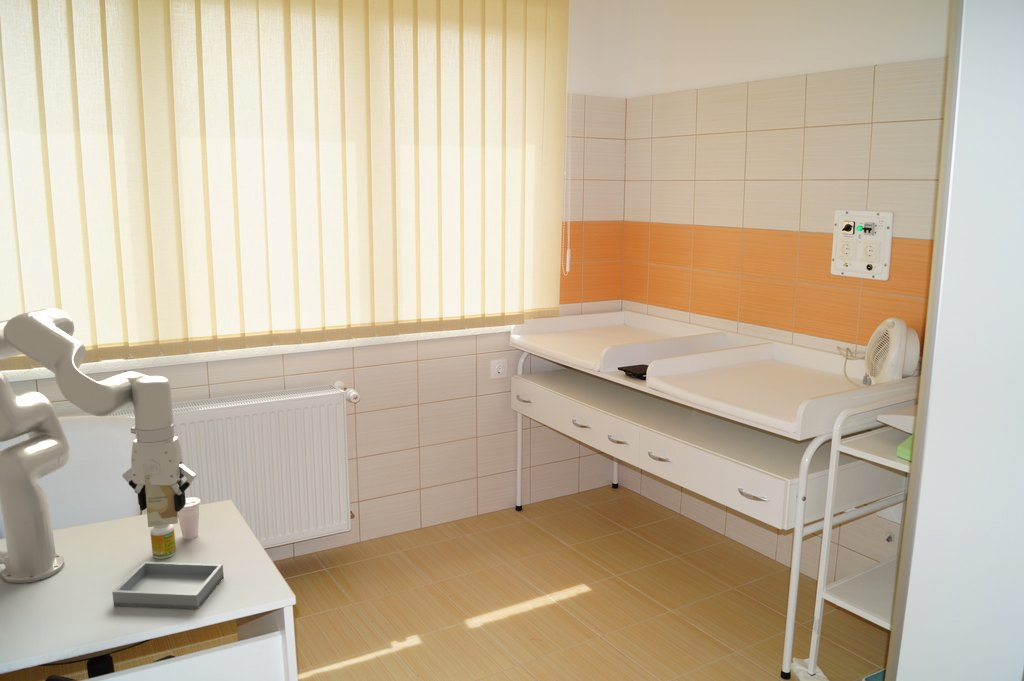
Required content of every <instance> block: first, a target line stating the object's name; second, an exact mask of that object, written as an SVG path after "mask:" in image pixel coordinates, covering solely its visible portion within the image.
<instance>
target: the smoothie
mask: <svg viewBox="0 0 1024 681" xmlns="http://www.w3.org/2000/svg"><path fill="white" fill-rule="evenodd" d="M185 501H186V504H185V506H184V507H183V508H182V509H181V510H180V511H179V512H178V522H179V527H180V532H181V535H182V538H183V539H184V540H192V539H196V538H197V537H199V523H200V521H199V520H200V508H201V507H200V506H201V505H202V502H201V501H202V500H201V499H200V498H199V497H196V496H195V497H194V496H188V497H187V493H186V490H185ZM195 537H196V538H195Z"/></svg>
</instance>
